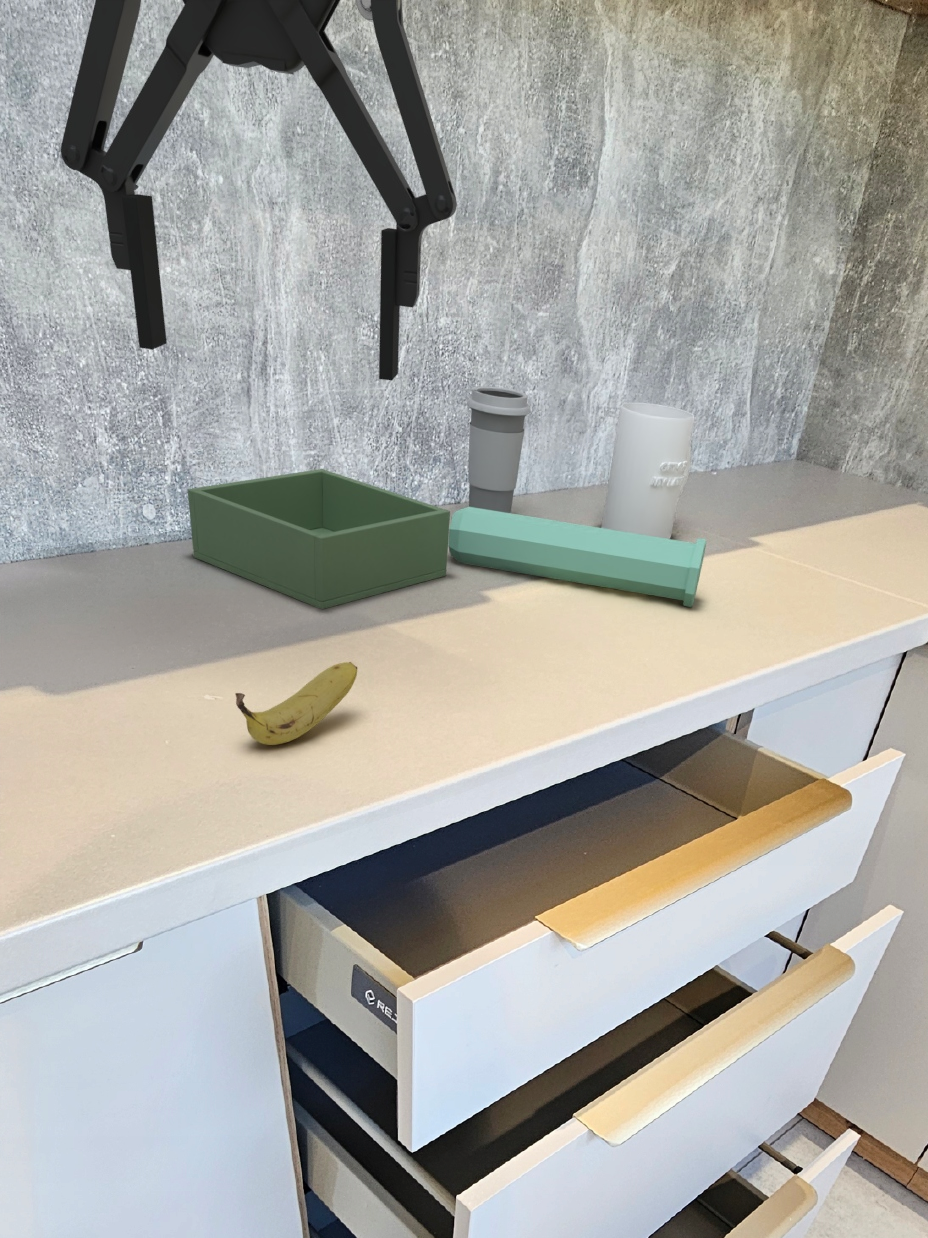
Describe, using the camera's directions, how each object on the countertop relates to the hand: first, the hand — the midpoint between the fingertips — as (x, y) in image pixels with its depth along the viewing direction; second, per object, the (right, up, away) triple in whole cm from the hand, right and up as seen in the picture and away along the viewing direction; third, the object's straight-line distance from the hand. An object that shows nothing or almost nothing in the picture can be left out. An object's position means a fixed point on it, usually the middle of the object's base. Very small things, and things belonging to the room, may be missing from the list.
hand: (271, 362), depth 58 cm
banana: (0, -18, +10) cm, 21 cm away
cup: (+12, +22, +55) cm, 60 cm away
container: (+20, +8, +42) cm, 47 cm away
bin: (-3, +7, +36) cm, 37 cm away
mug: (+30, +22, +58) cm, 69 cm away
